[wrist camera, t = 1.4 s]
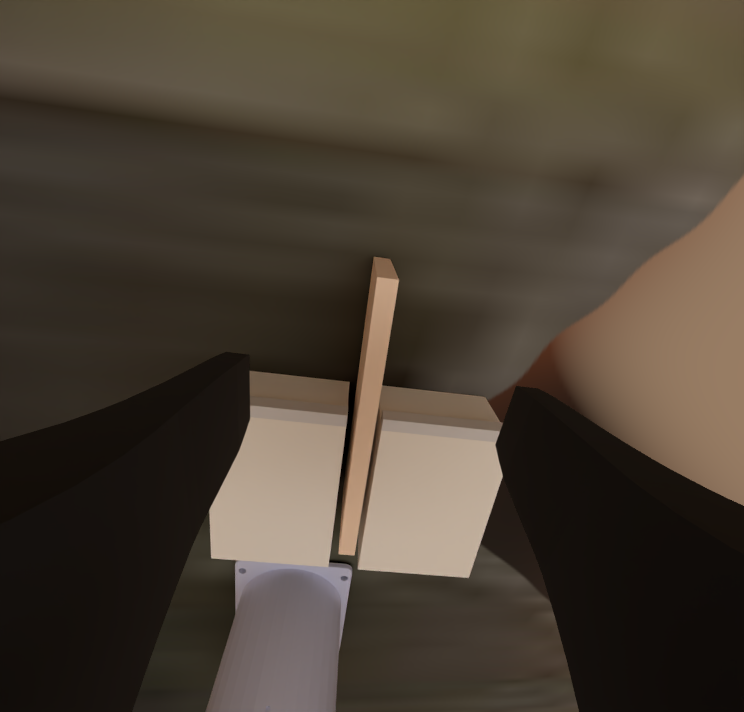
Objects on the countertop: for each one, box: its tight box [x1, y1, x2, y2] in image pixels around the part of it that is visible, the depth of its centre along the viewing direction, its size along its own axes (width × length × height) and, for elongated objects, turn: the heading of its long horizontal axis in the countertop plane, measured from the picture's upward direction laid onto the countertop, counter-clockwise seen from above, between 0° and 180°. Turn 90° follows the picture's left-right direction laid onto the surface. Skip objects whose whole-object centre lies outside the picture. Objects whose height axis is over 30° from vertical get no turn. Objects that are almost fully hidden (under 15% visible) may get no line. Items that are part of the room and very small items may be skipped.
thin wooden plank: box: [339, 257, 399, 555], centre depth 19 cm, size 14×1×5 cm, turn 172°
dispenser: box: [209, 371, 503, 578], centre depth 21 cm, size 10×14×4 cm
